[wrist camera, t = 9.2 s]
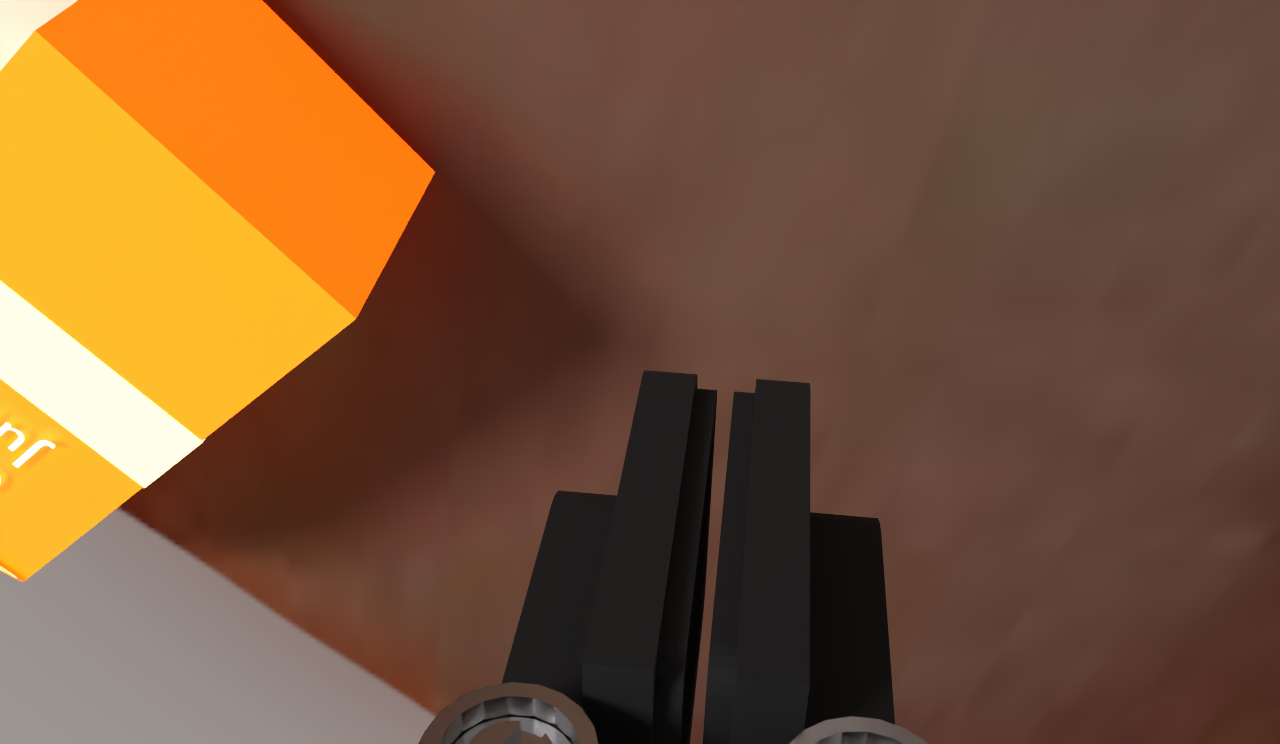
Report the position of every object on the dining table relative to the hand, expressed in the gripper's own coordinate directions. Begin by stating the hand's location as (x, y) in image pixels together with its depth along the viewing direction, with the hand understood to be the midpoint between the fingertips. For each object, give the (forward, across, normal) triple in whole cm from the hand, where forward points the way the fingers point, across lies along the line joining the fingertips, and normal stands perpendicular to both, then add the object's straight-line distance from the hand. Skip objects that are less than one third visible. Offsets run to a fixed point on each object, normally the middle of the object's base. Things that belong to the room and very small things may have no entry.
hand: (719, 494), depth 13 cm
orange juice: (+17, +12, +3) cm, 21 cm away
